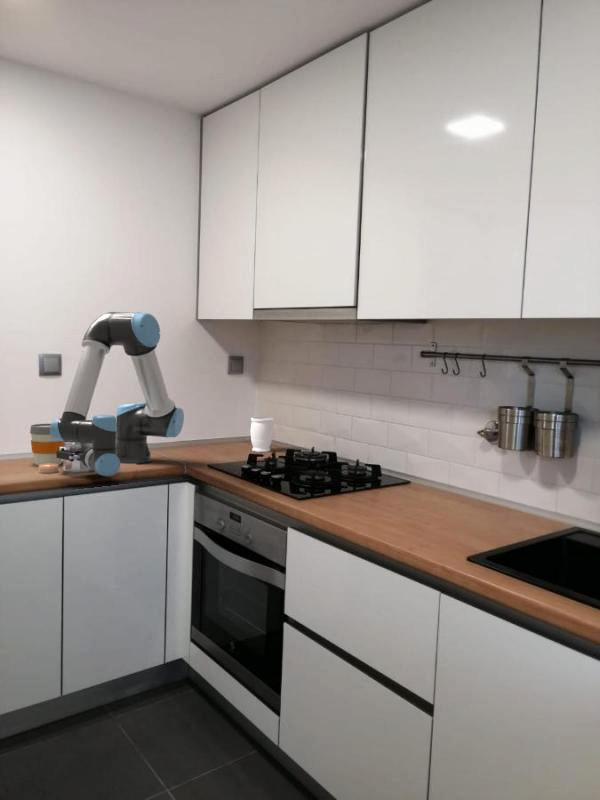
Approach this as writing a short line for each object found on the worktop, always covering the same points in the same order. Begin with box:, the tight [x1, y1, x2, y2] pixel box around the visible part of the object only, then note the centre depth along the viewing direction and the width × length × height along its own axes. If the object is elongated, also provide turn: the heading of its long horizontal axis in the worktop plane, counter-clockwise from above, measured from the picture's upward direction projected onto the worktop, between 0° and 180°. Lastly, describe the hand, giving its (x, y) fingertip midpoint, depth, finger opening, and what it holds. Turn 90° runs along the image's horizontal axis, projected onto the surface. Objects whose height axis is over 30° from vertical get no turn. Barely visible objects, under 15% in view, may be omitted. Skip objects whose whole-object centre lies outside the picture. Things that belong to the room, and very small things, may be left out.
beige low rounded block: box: [38, 463, 59, 474], centre depth 223 cm, size 6×6×3 cm
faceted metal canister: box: [62, 442, 93, 473], centre depth 229 cm, size 11×11×13 cm
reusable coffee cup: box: [29, 423, 63, 467], centre depth 237 cm, size 12×13×15 cm
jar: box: [250, 416, 274, 453], centre depth 288 cm, size 11×10×15 cm
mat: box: [59, 466, 96, 475], centre depth 229 cm, size 11×14×1 cm
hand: (77, 449), depth 232 cm, fingers closed on faceted metal canister, 11 cm apart
